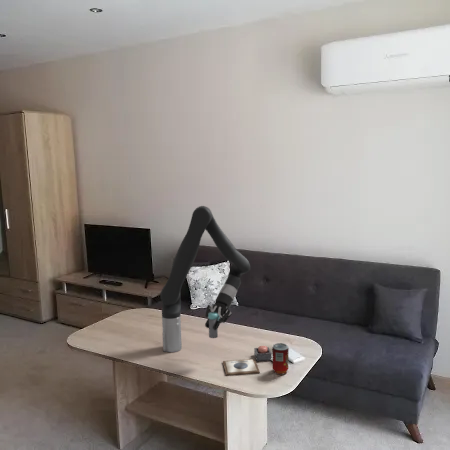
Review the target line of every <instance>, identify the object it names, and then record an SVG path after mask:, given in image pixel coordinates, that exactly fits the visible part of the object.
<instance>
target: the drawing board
mask: <svg viewBox="0 0 450 450" xmlns="http://www.w3.org/2000/svg"><path fill="white" fill-rule="evenodd" d="M222 363H223V364H222V365H223V369H224V372H225V376H226V377H228V376H241V375H243V376H244V375H256V374H257V375H258V374H261V372H260V369H259V367H258V365H257V360H256V358H250V359H249V358H248V359H245V358H244V359H233V360H223V361H222Z"/></svg>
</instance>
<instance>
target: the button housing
mask: <svg viewBox="0 0 450 450" xmlns="http://www.w3.org/2000/svg"><path fill="white" fill-rule="evenodd" d="M266 347H267V353H258V347H254V349H253V350H254V351H253V353H254V359H255V361H256V362H264V361H265V362H267V361H268V362H269V361H271V360H270V359H271V358H272V359H273V352H272V351H271V349H270V347H269V346H266Z"/></svg>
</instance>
